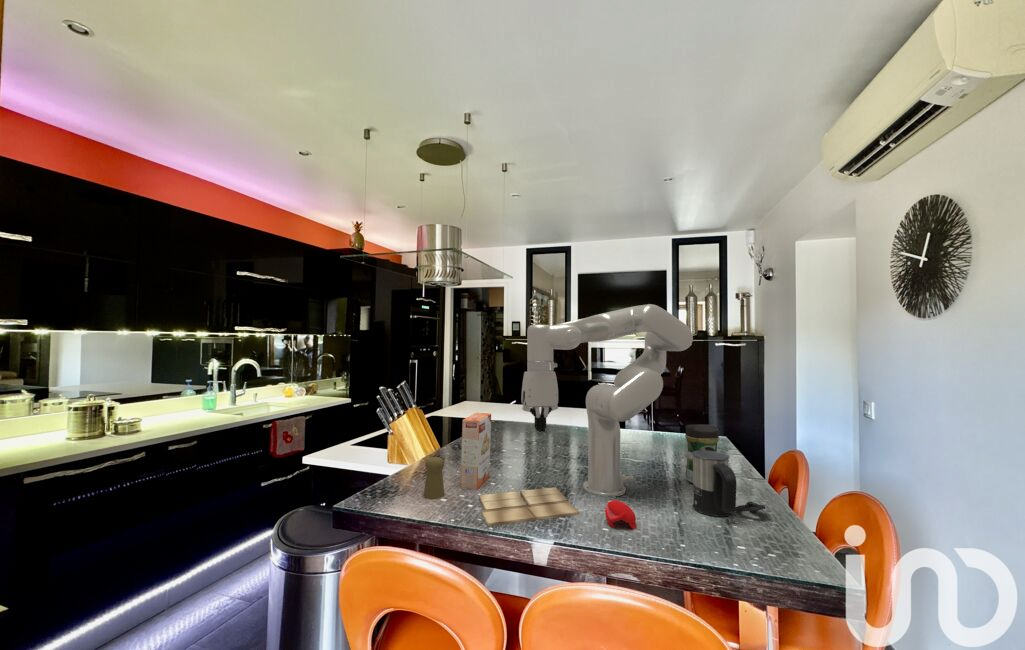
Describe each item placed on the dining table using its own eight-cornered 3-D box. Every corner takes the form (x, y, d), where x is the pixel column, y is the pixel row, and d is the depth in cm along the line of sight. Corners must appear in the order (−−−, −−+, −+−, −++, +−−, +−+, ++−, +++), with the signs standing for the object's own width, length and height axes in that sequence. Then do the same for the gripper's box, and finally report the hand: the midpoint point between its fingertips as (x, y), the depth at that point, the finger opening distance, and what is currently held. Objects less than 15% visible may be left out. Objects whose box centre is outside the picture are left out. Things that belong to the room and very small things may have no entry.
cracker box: (479, 492, 118) (480, 420, 119) (459, 490, 120) (460, 419, 120) (491, 476, 132) (492, 412, 133) (473, 475, 133) (474, 411, 134)
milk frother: (684, 505, 110) (684, 451, 111) (725, 498, 116) (725, 446, 117) (730, 528, 97) (729, 466, 98) (773, 518, 103) (773, 459, 104)
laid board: (567, 505, 109) (567, 500, 109) (579, 516, 102) (579, 511, 102) (481, 515, 102) (481, 510, 102) (488, 528, 95) (488, 522, 95)
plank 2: (555, 491, 118) (555, 486, 118) (567, 504, 110) (567, 499, 110) (520, 495, 114) (520, 490, 114) (529, 508, 107) (530, 504, 107)
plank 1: (516, 495, 114) (517, 491, 114) (526, 509, 107) (526, 504, 106) (479, 499, 111) (479, 495, 111) (485, 513, 103) (486, 509, 103)
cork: (448, 495, 115) (449, 456, 116) (436, 502, 110) (437, 462, 110) (431, 491, 118) (432, 453, 118) (418, 499, 112) (419, 459, 113)
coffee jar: (710, 478, 133) (710, 422, 134) (723, 487, 125) (723, 427, 126) (681, 478, 133) (681, 422, 134) (693, 487, 125) (692, 427, 126)
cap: (599, 516, 95) (620, 507, 93) (602, 499, 101) (622, 490, 98) (619, 542, 96) (641, 534, 93) (621, 524, 101) (642, 516, 98)
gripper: (558, 365, 122) (558, 426, 122) (511, 366, 118) (511, 430, 117) (569, 367, 115) (569, 431, 115) (520, 368, 111) (520, 435, 110)
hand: (540, 430), depth 116 cm, fingers closed
